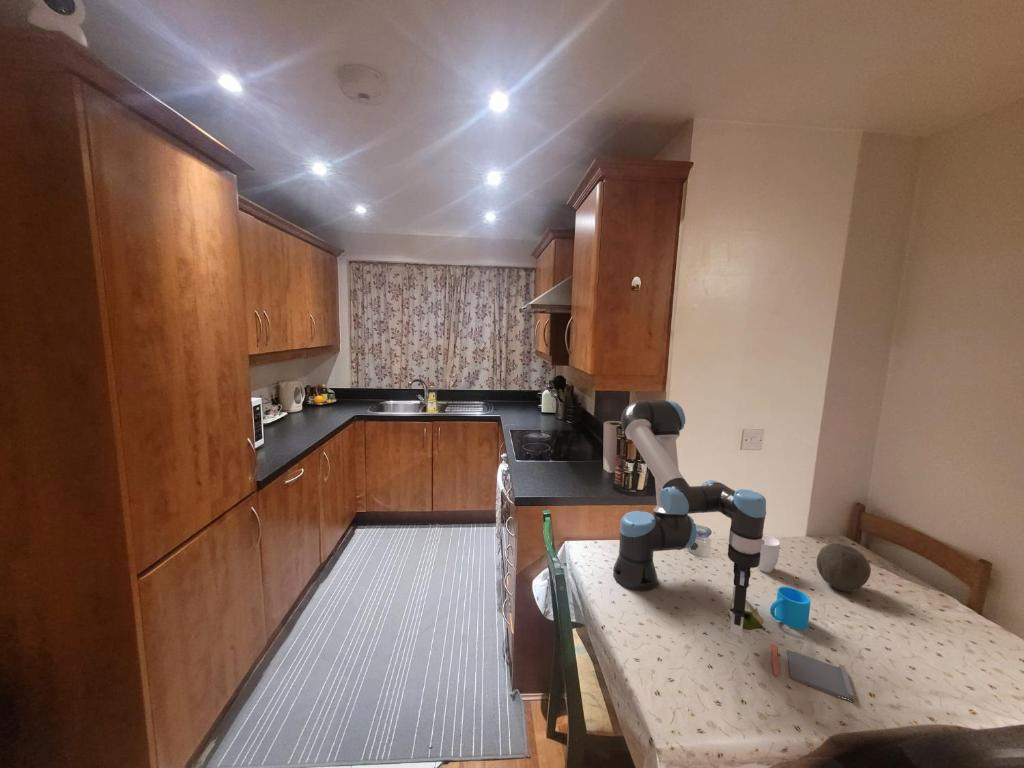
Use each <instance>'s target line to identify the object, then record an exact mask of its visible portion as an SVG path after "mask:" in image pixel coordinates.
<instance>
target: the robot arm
mask: <svg viewBox="0 0 1024 768" xmlns="http://www.w3.org/2000/svg"><path fill="white" fill-rule="evenodd" d="M620 424H621V429H622V432H623V433H624V435H625V436H626V438H627V439H628V440H631V441H632V443H633V445H634V446H635V447H636V450H637V451H638V453H639V454H640V456H641V457H642V460H643V462H645V464H646V466H647V468H648V469H649V471H650V473H651V474H652V476H653V477H654V483H655V484H654V485H655V496H656V506H655V507H654V508H653V512H652V513H653V514H651V513H650V512H649V511H648V512H647V511H641V510H633V511H628V512H626V513H625V514H624V515H623V516H622V517H621V519H620V526H619V550H618V556H617V558H616V560H615V563H614V565H613V568H612V570H613V573H612V575H613V578H614V580H615V581H616V582H617V583H618V584H619V585H621V586H622V587H624V588H627V589H629V590H634V591H639V592H644V591H645V592H647V591H652V590H653V589H655V588H656V586H657V585H658V575H657V571H656V567H655V563H654V552H662V551H675V550H678V551H681V550H684V549H690V548H691V547H692V546H693V545H694V544H695V542H696V540H697V535H698V534H697V526H696V523H695V521H694V519H693V517H691V515H690V514H699V513H700V514H704V513H720V514H722V515H723V516H725V517H727V518H729V520H730V521H731V522H730V527H729V537H728V543H729V544H728V547H727V558H728V559H729V561H731V562H732V563H733V574H734V575H733V585H734V586H733V588H732V596H731V600H732V599H734V606H733V609H731V608H730V607H729V609H730V611H732V617H731V619H730V628H729V633H731V634H735V635H737V636H740V637H742V636H743V630H744V629H743V620H744V616H745V614H744V613H745V602H746V600H747V591H748V590H747V589H748V588H749V583H750V578H751V575H752V574H751V573H752V571H751V569H754V568H756V567H757V566H759V563H760V555H761V553H760V551H761V544H764V543H765V542H764V540H762V537H763V533H764V527H765V526H764V525H765V519H766V516H767V498H765V496H764V495H762V494H761V493H759V492H756V491H753V490H751V489H744V488H743V489H740V488H739V489H737V490H735V489H733V488H730V487H729V486H727V485H725V484H724V483H722V482H719V481H717V480H715V479H714V480H713V479H711V480H710V479H709V480H707V481H705V482H703V483H702V484H701V485H698V486H697V485H696V486H692V485H691V486H690V484H689V483H688V482H687V481H686V479H685V477H684V476H683V475H682V473H681V472H680V469H679V459H678V449H677V447H678V446H677V439H678V438H679V437H680V435H681V434H680V433H681V431H682V430H683V429H684V428H685V424H686V416H685V412H684V410H683V408H682V406H681V405H679V403H677V402H676V401H673V400H666V399H665V400H635V401H633V402H631V403H629V404H627V406H626V407H625V408H624V409H623V412H622V414H621V418H620Z"/></svg>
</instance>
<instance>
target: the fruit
mask: <svg viewBox="0 0 1024 768" xmlns="http://www.w3.org/2000/svg"><path fill="white" fill-rule="evenodd" d="M733 606H734V599H732V598H731V599H730V600H729V609H728V610H727V611H726V615H727V617H728V618H729V620H731V617H732V611H730V608H731V609H733ZM744 614H745V616H744V620H743V629H742V630H746V631H751V630H752V631H753V630H759V629H760V630H761V631H766V630H767V629H766V628H765V626H764V625H763V623H764V619H763V618H762V616H761V615H760V614H759V611H758V607H753V605H752V604H751V602H749V601H748V600H747V599H746V602H745V613H744Z"/></svg>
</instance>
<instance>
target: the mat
mask: <svg viewBox="0 0 1024 768" xmlns="http://www.w3.org/2000/svg"><path fill="white" fill-rule="evenodd" d="M786 654H787V655H786V656H787V661H788V667H789V676H790V679H791V680H794V681H796V682H799V683H801V684H804V685H807V686H810V687H812V688H814V689H817V690H819V691H822V692H825V693H828V694H830V695H832V696H835V697H837V696H840V697H843V698H846V699H849V700H851V701H852V702H851V703H854V700H855V695H854V694H855V693H854V692H853V688H852V685H851V682H850V678H849V675H848V673H847V669H846V666H845V665H844V664H841V663H839V664H838V666H836V665H833V664H830V663H827V662H824V661H822V660H818V659H816V658H814V657H810V656H808V655H805V654H802V653H799V652H796V651H793V650H790V649H786ZM840 697H839V698H840Z"/></svg>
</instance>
